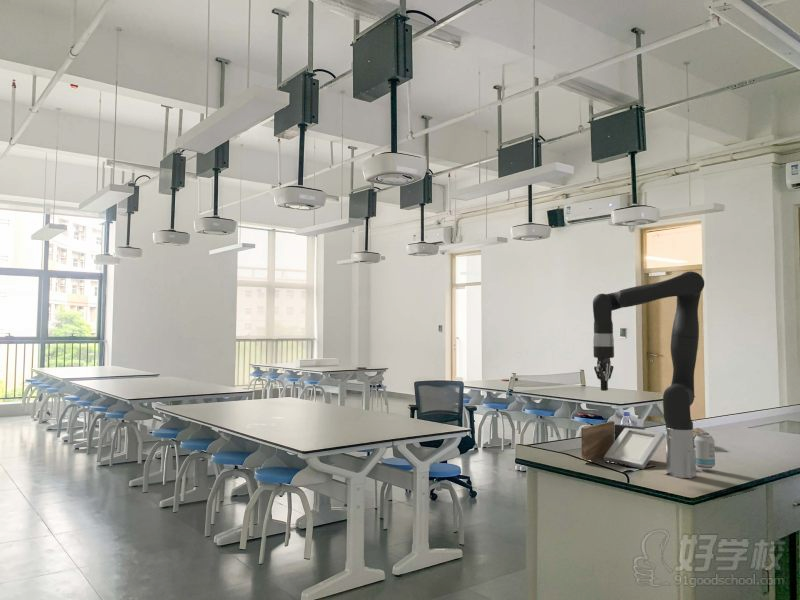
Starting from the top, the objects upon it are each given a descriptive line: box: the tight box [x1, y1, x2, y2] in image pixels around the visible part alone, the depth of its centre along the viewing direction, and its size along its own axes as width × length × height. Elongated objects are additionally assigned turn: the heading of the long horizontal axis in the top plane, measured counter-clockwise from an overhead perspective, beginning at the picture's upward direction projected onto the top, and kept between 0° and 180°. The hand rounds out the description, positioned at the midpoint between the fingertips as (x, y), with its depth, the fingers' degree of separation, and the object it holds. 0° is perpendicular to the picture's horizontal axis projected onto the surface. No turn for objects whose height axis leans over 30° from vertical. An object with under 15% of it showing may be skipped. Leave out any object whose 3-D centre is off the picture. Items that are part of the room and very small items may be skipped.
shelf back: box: [580, 420, 615, 462], centre depth 245 cm, size 2×28×14 cm, turn 138°
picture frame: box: [603, 428, 666, 470], centre depth 239 cm, size 16×3×21 cm
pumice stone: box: [693, 427, 710, 446], centre depth 277 cm, size 14×12×8 cm
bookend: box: [614, 423, 646, 441], centre depth 250 cm, size 12×6×13 cm, turn 48°
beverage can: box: [694, 434, 716, 469], centre depth 231 cm, size 7×7×12 cm
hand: (604, 390), depth 232 cm, fingers closed
